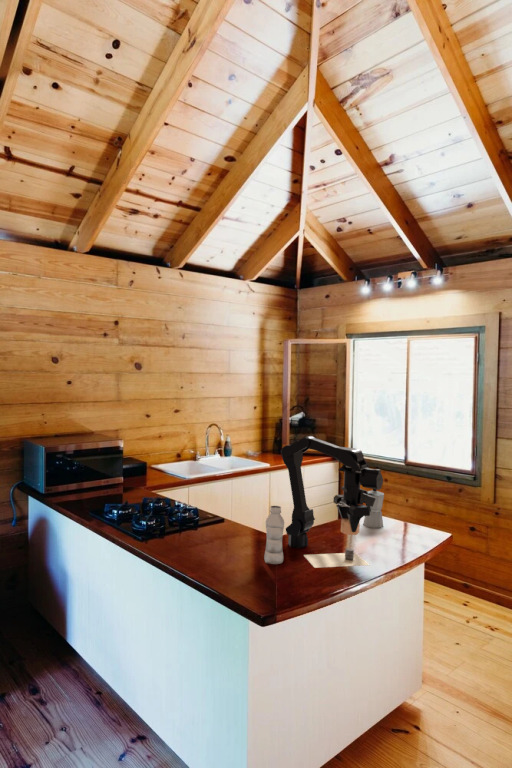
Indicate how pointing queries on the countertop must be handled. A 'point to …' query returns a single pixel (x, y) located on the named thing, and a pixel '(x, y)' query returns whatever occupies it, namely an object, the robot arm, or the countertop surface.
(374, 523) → the coffee maker
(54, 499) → the countertop surface
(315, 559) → the board
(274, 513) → the plastic bottle
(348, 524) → the cap
